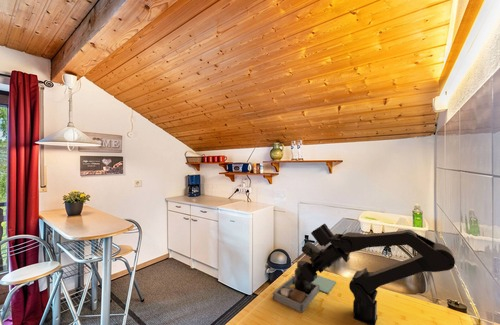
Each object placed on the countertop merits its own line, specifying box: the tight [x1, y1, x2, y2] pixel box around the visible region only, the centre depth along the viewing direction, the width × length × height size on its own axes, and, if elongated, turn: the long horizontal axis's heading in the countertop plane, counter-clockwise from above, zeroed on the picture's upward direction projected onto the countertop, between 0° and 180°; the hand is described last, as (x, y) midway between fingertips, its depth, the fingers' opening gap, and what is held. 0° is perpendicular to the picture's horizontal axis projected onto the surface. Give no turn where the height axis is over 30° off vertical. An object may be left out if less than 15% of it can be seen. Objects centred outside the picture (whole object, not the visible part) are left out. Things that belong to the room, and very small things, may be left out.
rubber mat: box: [312, 274, 337, 295], centre depth 97 cm, size 11×11×1 cm
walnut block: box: [290, 288, 305, 303], centre depth 83 cm, size 4×4×4 cm
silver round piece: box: [281, 288, 291, 299], centre depth 86 cm, size 4×4×3 cm
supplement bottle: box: [293, 260, 313, 295], centre depth 90 cm, size 7×7×12 cm
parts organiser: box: [272, 275, 320, 313], centre depth 88 cm, size 12×17×2 cm
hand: (301, 275), depth 91 cm, fingers closed on supplement bottle, 7 cm apart
